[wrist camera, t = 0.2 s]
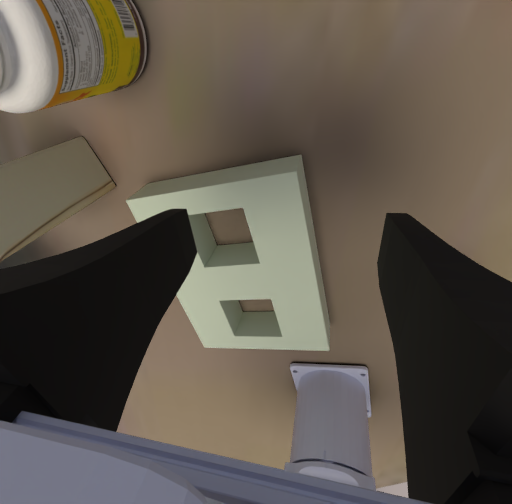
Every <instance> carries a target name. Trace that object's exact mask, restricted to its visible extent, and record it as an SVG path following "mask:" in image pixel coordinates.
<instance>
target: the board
mask: <svg viewBox="0 0 512 504" xmlns="http://www.w3.org/2000/svg"><path fill="white" fill-rule="evenodd" d="M126 202H127V204H128V206H129V208H130V210H131V211H132V213H133V215H134V217H135V219H136V221H137V223H139V222H141V221H143V220H145V219H147V218H149V217H152V216H154V215H156V214H158V213H161V212H163V211H166V210H169V209H187V213H188V217H189V221H190V225H191V229H192V232H193V236H194V240H195V244H196V248H197V255H196V257H195V260H194V263H193V265H192V267H191V270H190V272H189V274H188V276H187V277H186V279H185V281H184V283H183V284H182V286H181V288H180V289H179V291H178V293H177V294H176V295H177V297H178V299H179V301H180V303H181V305H182V306H183V308H184V310H185V312H186V314H187V316H188V318H189V319H190V321H191V323H192V325H193V327H194V329H195V331H196V332H197V334H198V336H199V338H200V340H201V342H202V344H203V346H204V347H205V348H240V349H278V350H316V351H329V348H330V321H329V315H328V309H327V303H326V297H325V291H324V285H323V279H322V273H321V267H320V261H319V255H318V250H317V244H316V238H315V232H314V226H313V220H312V214H311V208H310V202H309V196H308V190H307V184H306V178H305V173H304V167H303V161H302V155H295V156H290V157H285V158H280V159H274V160H269V161H264V162H259V163H253V164H248V165H243V166H238V167H232V168H227V169H222V170H216V171H211V172H206V173H201V174H195V175H190V176H185V177H180V178H174V179H169V180H164V181H159V182H153V183H148V184H146V185H145V186H144V187H143V188H141V189H140V190H139V191H137V192H136V193H135V194H134V195H132V196H131V197H130V198H128V199H127V200H126ZM237 208H243V209H244V213H245V216H246V219H247V222H248V226H249V229H250V232H251V236H252V239H253V242H249V243H238V244H228V245H218V246H217V244H216V242H215V239H214V237H213V234H212V231H211V229H210V226H209V224H208V221H207V219H206V216H205V213H208V212H215V211H222V210H229V209H237ZM254 299H271V301H272V304H273V307H274V311H267V312H243V311H242V309H241V306H240V303H239V301H238V300H254Z"/></svg>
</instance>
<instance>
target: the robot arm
mask: <svg viewBox="0 0 512 504" xmlns="http://www.w3.org/2000/svg"><path fill="white" fill-rule="evenodd" d="M196 255H197V248H196V244H195V240H194V236H193V232H192V229H191V225H190V221H189V217H188V213H187V209H169V210H166V211H163V212H161V213H158V214H156V215H154V216H152V217H149V218H147V219H145V220H143V221H141V222H139V223H136V224H134V225H132V226H130V227H128V228H126V229H124V230H121V231H119V232H117V233H114V234H112V235H110V236H107V237H105V238H103V239H101V240H98V241H96V242H93V243H91V244H88V245H85V246H83V247H80V248H77V249H74V250H71V251H68V252H65V253H62V254H59V255H55V256H51V257H48V258H44V259H41V260H37V261H34V262H30V263H26V264H22V265H18V266H14V267H9V268H5V269H0V504H512V282H510V281H508V280H506V279H505V278H503V277H501V276H499V275H497V274H495V273H493V272H492V271H490V270H488V269H486V268H484V267H483V266H481V265H479V264H478V263H476V262H474V261H473V260H471V259H470V258H468V257H467V256H465V255H464V254H462V253H460V252H459V251H457V250H456V249H455V248H453V247H452V246H450V245H449V244H447V243H446V242H445V241H443V240H442V239H441V238H439V237H438V236H436V235H435V234H434V233H433V232H431V231H430V230H429V229H427V228H426V227H425V226H423V225H422V224H421V223H420V222H418V221H417V220H416V219H414V218H413V217H412V216H410V215H409V214H407V213H386V219H385V224H384V230H383V235H382V240H381V246H380V251H379V257H378V262H377V264H378V277H379V287H380V291H381V296H382V300H383V304H384V308H385V313H386V317H387V321H388V325H389V329H390V333H391V337H392V341H393V346H394V352H395V357H396V366H397V374H398V382H399V391H400V400H401V410H402V420H403V431H404V442H405V454H406V468H407V482H408V496H409V498H405V497H401V496H396V495H392V494H388V493H384V492H380V491H376V486H375V478H374V477H373V476H372V464H371V451H370V439H369V427H368V417H371V404H370V391H369V378H368V369H367V367H365V366H352V365H328V364H303V363H292V364H290V370H291V374H292V377H293V380H294V383H295V386H296V390H297V401H296V411H295V420H294V429H293V438H292V447H291V456H290V463H288V462H286V463H285V469H284V470H282V469H277V468H273V467H269V466H264V465H260V464H255V463H251V462H246V461H242V460H238V459H233V458H229V457H224V456H220V455H215V454H211V453H207V452H202V451H198V450H193V449H189V448H184V447H180V446H176V445H171V444H167V443H162V442H158V441H154V440H149V439H145V438H140V437H136V436H131V435H127V434H123V433H118V432H116V431H117V428H118V425H119V422H120V419H121V416H122V413H123V410H124V407H125V404H126V401H127V398H128V396H129V393H130V390H131V388H132V385H133V382H134V380H135V377H136V374H137V372H138V369H139V367H140V365H141V362H142V360H143V358H144V355H145V353H146V350H147V348H148V346H149V344H150V342H151V339H152V337H153V335H154V333H155V331H156V329H157V326H158V325H159V323H160V321H161V319H162V317H163V316H164V314H165V312H166V311H167V309H168V307H169V306H170V304H171V302H172V301H173V299H174V297H175V296H176V294H177V293H178V291H179V289H180V288H181V286H182V284H183V283H184V281H185V279H186V277H187V276H188V274H189V272H190V270H191V267H192V265H193V263H194V260H195V257H196Z"/></svg>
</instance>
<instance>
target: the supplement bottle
mask: <svg viewBox="0 0 512 504" xmlns="http://www.w3.org/2000/svg"><path fill="white" fill-rule="evenodd" d="M146 55H147V43H146V35H145V30H144V26H143V23H142V20H141V18H140V15H139V13H138V11H137V9H136V7H135V5H134V4H133V2H132V0H0V110H2V111H6V112H11V113H28V112H33V111H38V110H41V109H45V108H49V107H53V106H57V105H61V104H65V103H68V102H72V101H76V100H80V99H84V98H88V97H92V96H95V95H99V94H104V93H108V92H111V91H116V90H119V89H122V88H125V87H128V86H129V85H131V84H132V83H134V82H135V81H136V80H137V79H138V77H139V76H140V74H141V72H142V70H143V68H144V65H145V61H146Z"/></svg>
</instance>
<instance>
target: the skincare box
mask: <svg viewBox="0 0 512 504" xmlns="http://www.w3.org/2000/svg"><path fill="white" fill-rule="evenodd" d="M115 187H116V186H115V184H114V182H113V181H112V179H111V178H110V176H109V175H108V173H107V172H106V170H105V169H104V167H103V166H102V164H101V163H100V161H99V160H98V158H97V157H96V155H95V154H94V152H93V151H92V149H91V148H90V146H89V145H88V143H87V142H86V140H85V139H84V138H83V137H77V138H74V139H72V140H69V141H66V142H63V143H60V144H57V145H55V146H52V147H49V148H46V149H43V150H40V151H38V152H35V153H32V154H29V155H26V156H24V157H21V158H18V159H15V160H12V161H9V162H7V163H4V164H1V165H0V262H1V261H3V260H4V259H6V258H7V257H9V256H10V255H12V254H13V253H15V252H17V251H18V250H20V249H21V248H23V247H24V246H26V245H27V244H29V243H31V242H32V241H34V240H35V239H37V238H38V237H40V236H41V235H43V234H44V233H46V232H48V231H49V230H51V229H52V228H54V227H55V226H57V225H58V224H60V223H62V222H63V221H65V220H66V219H68V218H69V217H71V216H72V215H74V214H75V213H77V212H79V211H80V210H82V209H83V208H85V207H86V206H88V205H89V204H91V203H92V202H94V201H95V200H97V199H98V198H100V197H101V196H103V195H105V194H106V193H107V192H109V191H111V190H112V189H114V188H115Z"/></svg>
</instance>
